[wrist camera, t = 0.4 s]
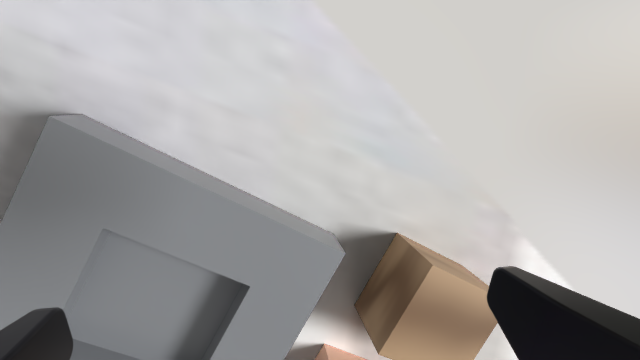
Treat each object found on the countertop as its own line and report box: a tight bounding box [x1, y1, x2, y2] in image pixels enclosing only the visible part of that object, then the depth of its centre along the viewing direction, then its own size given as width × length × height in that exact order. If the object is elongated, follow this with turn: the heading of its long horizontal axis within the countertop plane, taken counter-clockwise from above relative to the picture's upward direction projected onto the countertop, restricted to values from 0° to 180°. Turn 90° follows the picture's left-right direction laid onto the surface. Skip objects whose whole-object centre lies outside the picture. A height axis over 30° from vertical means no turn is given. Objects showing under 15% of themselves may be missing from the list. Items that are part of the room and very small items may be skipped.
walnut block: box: [354, 233, 498, 360], centre depth 22 cm, size 6×6×5 cm
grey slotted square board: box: [0, 114, 346, 360], centre depth 19 cm, size 16×16×3 cm
